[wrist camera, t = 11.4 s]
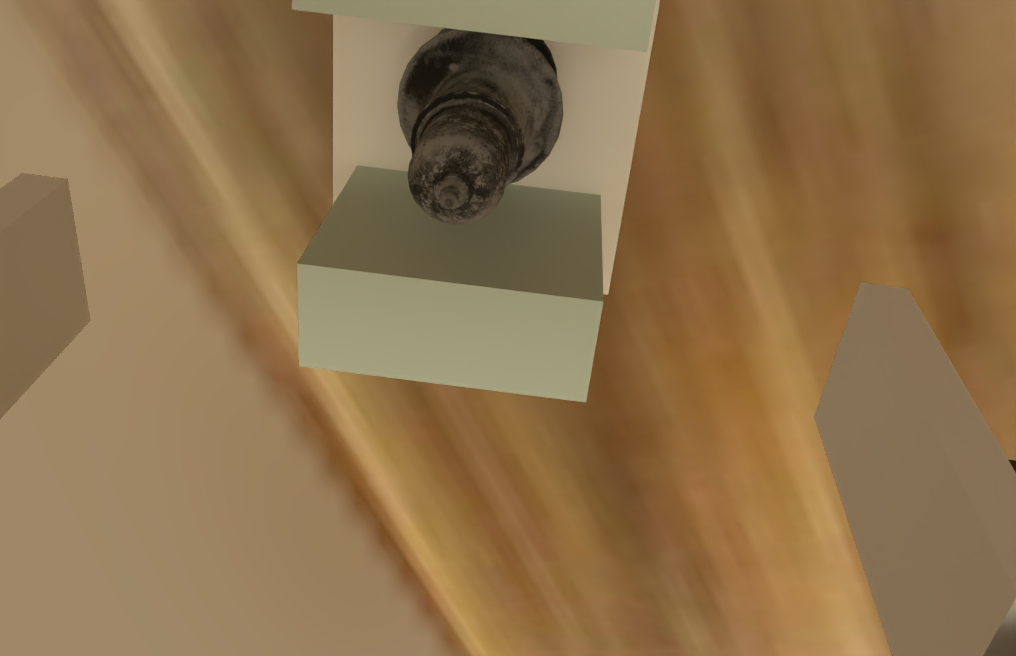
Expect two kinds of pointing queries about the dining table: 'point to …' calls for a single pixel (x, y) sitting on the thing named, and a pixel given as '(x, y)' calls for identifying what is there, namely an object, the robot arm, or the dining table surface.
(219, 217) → the dining table surface
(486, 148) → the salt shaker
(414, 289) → the cream plate with blocks
